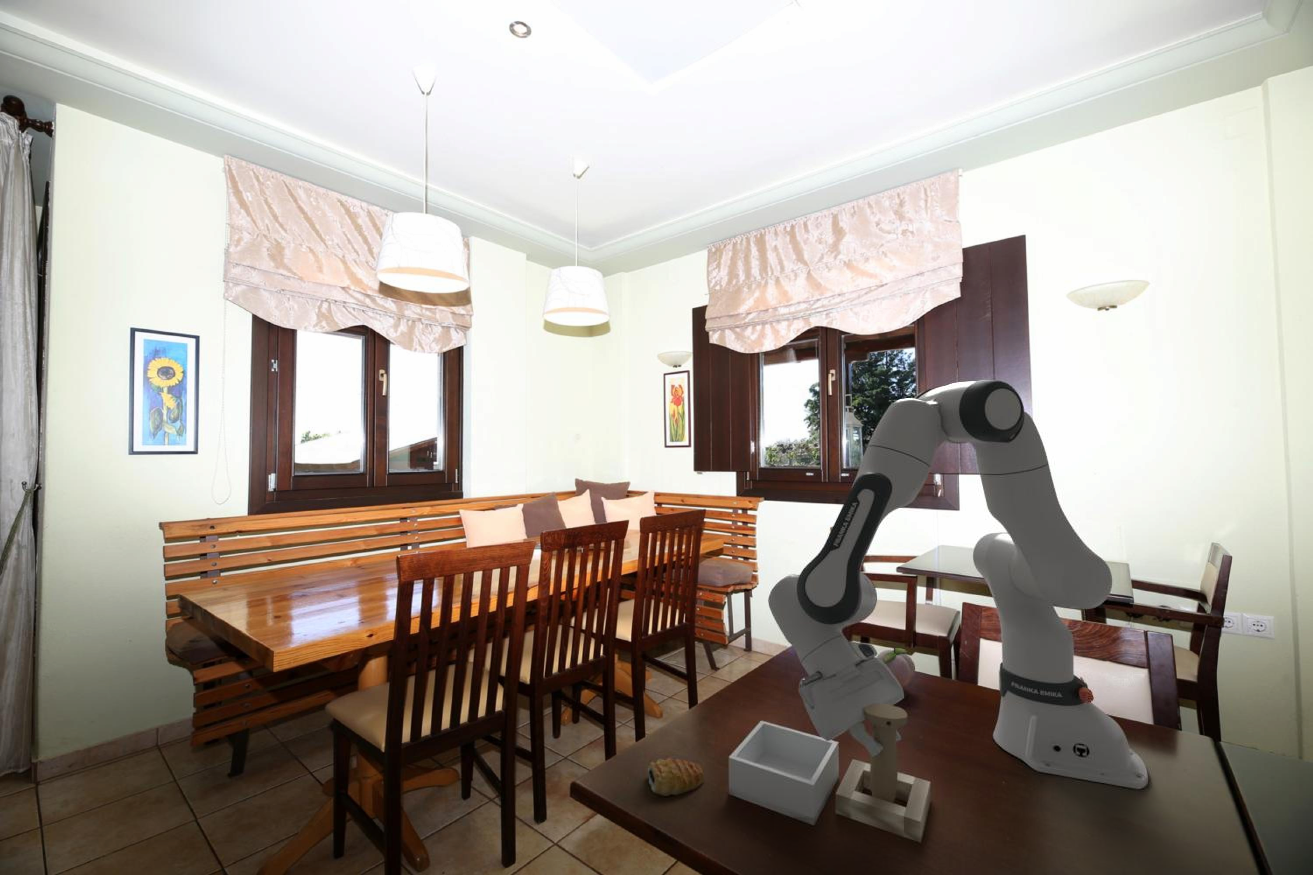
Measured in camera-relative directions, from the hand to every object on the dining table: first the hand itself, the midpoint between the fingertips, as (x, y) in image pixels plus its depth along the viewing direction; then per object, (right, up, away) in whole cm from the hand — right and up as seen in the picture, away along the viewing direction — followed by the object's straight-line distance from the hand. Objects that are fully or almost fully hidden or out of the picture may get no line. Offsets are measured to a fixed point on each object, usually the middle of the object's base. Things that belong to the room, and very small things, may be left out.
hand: (887, 747), depth 87 cm
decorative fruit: (+18, -10, +41) cm, 46 cm away
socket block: (0, -10, 0) cm, 10 cm away
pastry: (-33, -10, +7) cm, 36 cm away
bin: (-15, -10, +6) cm, 19 cm away
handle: (0, -10, 0) cm, 10 cm away
